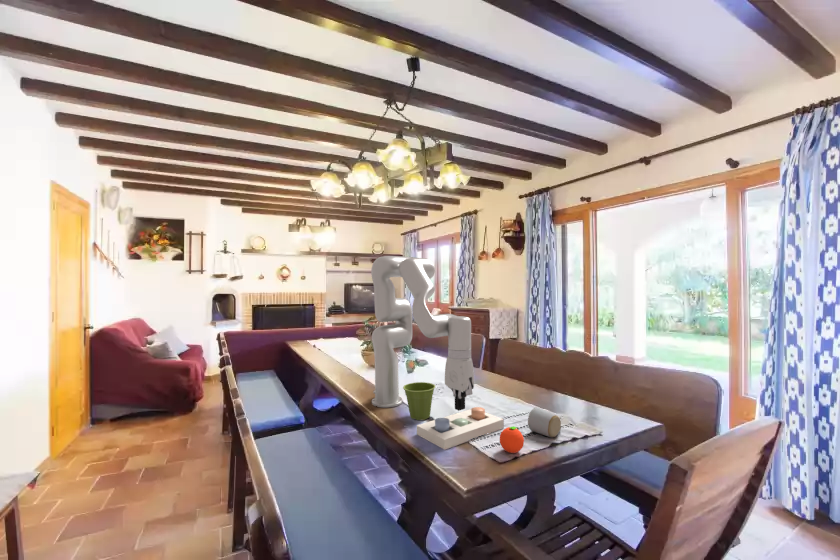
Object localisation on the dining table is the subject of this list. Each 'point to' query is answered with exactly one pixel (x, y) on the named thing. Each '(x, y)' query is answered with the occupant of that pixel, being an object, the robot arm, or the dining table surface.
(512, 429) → the clementine
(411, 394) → the plant pot
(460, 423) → the green button
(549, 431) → the grey canister
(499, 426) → the console
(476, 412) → the terracotta button
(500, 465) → the dining table surface
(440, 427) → the blue button
